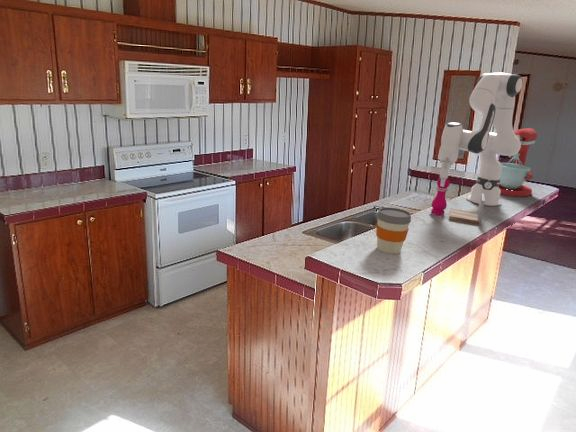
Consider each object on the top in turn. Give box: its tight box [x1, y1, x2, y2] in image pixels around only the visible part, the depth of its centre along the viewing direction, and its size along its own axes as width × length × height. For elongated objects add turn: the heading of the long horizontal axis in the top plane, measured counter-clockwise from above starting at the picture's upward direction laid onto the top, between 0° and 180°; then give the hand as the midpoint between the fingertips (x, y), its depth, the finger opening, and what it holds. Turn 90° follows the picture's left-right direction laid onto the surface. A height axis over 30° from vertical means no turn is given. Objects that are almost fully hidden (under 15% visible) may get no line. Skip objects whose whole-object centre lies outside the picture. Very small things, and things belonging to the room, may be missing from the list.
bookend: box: [448, 193, 485, 226], centre depth 227 cm, size 16×14×12 cm
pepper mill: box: [430, 177, 451, 216], centre depth 230 cm, size 7×7×20 cm
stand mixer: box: [498, 127, 538, 197], centre depth 292 cm, size 24×32×40 cm
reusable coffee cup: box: [375, 207, 412, 255], centre depth 177 cm, size 13×13×15 cm
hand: (442, 184), depth 229 cm, fingers open, 8 cm apart
